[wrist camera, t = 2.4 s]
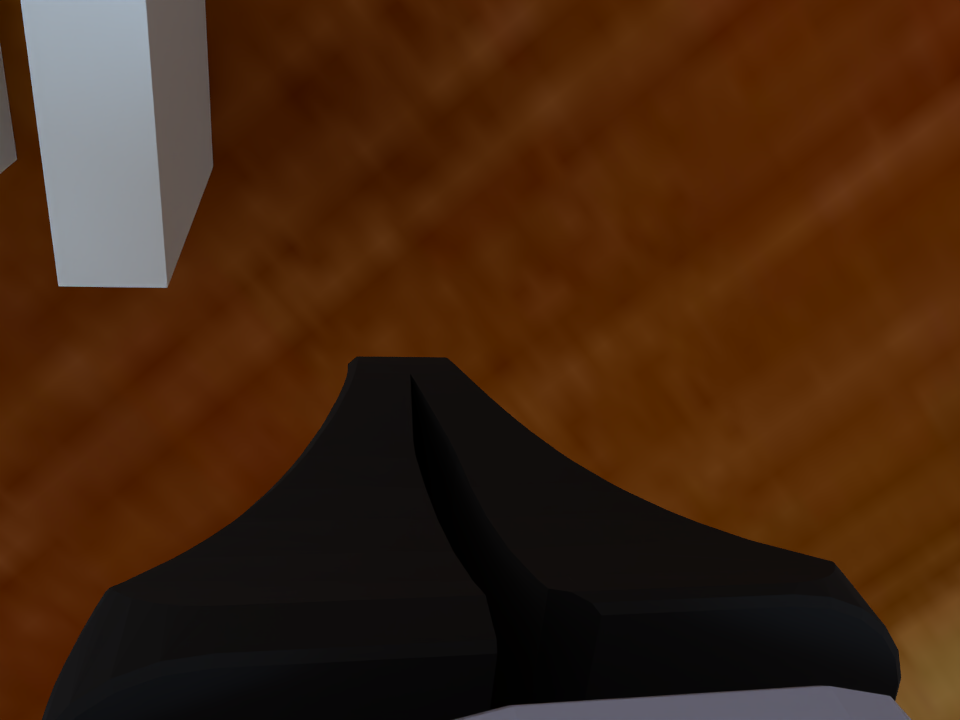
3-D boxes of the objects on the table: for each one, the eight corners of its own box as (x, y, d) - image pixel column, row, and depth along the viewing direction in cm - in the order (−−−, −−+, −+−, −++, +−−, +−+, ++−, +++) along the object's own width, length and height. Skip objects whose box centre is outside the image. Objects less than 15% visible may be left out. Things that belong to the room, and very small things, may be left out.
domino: (140, 164, 20) (58, 286, 14) (119, -80, 18) (10, -75, 12) (213, 167, 21) (167, 287, 14) (201, -73, 18) (141, -64, 12)
